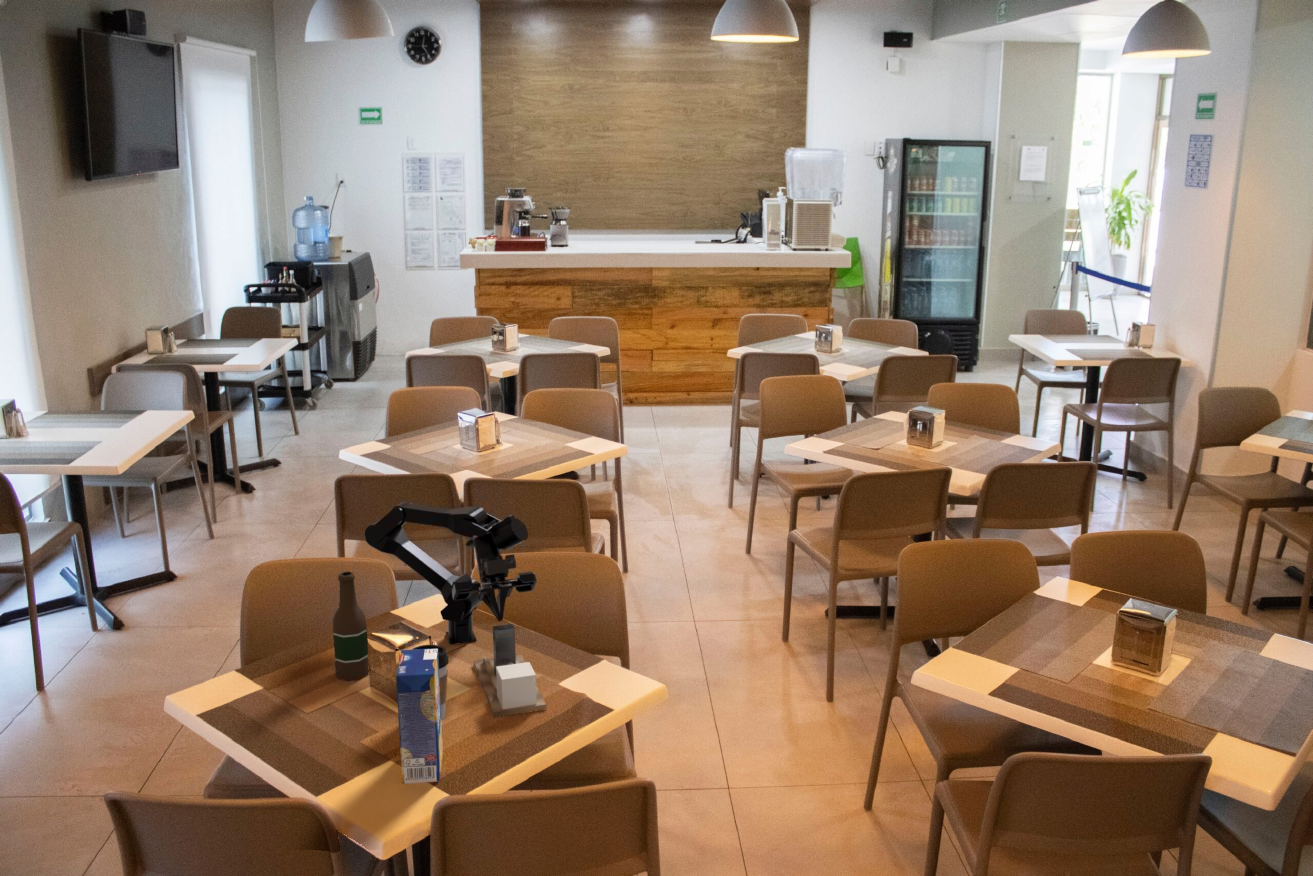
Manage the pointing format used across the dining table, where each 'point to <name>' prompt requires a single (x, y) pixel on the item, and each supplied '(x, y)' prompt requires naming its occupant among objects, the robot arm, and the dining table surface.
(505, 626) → the dark grey rectangular block
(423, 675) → the beverage box
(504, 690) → the socket
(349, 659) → the beer bottle
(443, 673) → the coffee cup
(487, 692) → the rail
